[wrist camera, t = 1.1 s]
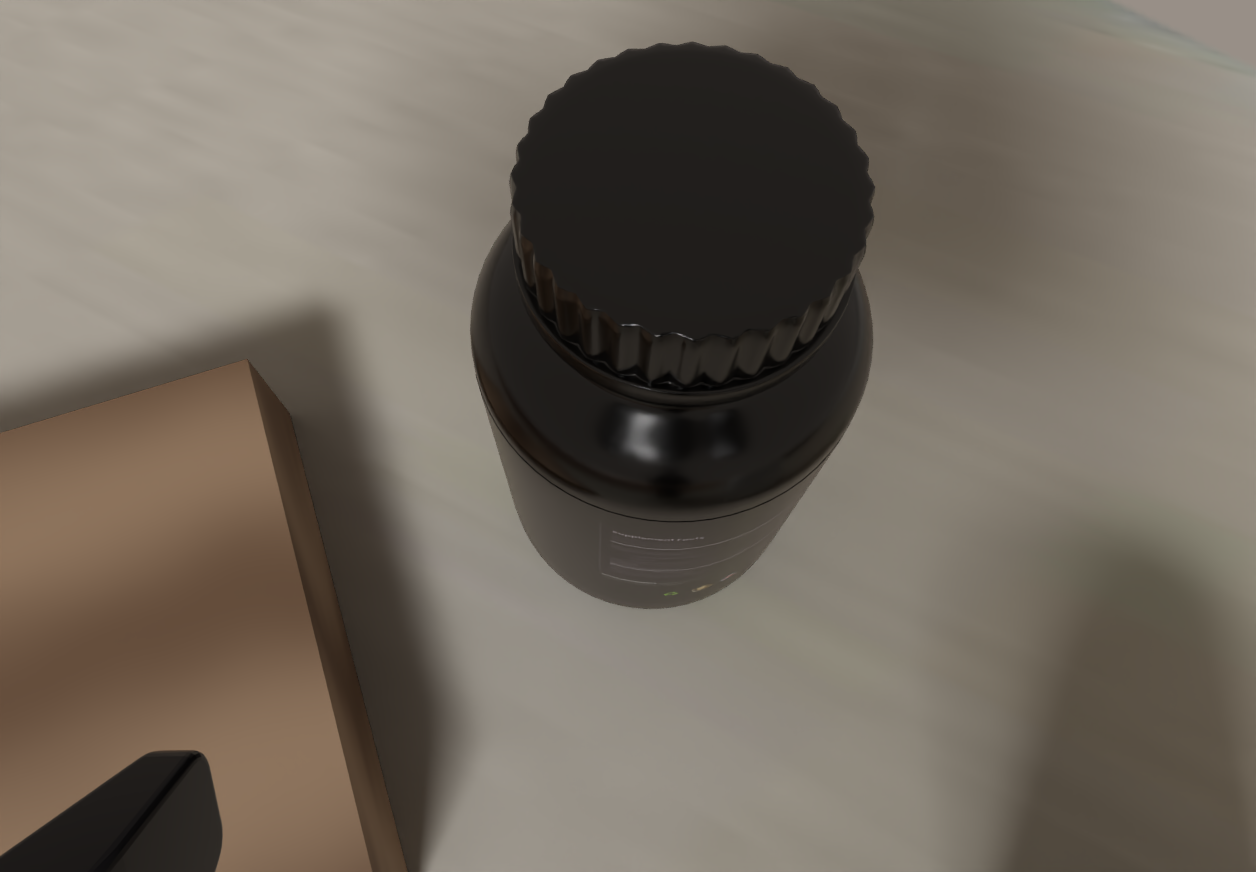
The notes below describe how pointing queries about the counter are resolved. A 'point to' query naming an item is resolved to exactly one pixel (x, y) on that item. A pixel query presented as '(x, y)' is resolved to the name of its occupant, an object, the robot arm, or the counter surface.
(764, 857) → the counter surface
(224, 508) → the walnut plinth
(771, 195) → the supplement bottle
